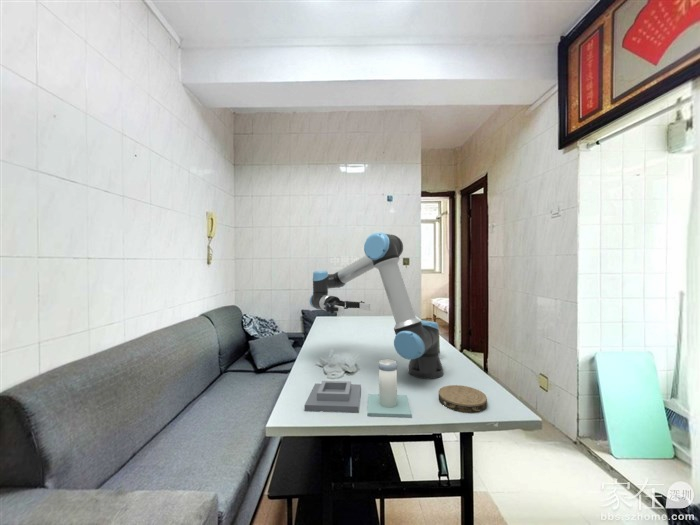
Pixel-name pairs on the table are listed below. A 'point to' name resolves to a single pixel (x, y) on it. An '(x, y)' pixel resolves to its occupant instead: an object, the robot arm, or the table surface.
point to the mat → (398, 411)
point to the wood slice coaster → (462, 399)
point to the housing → (334, 397)
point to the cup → (388, 383)
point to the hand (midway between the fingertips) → (356, 308)
